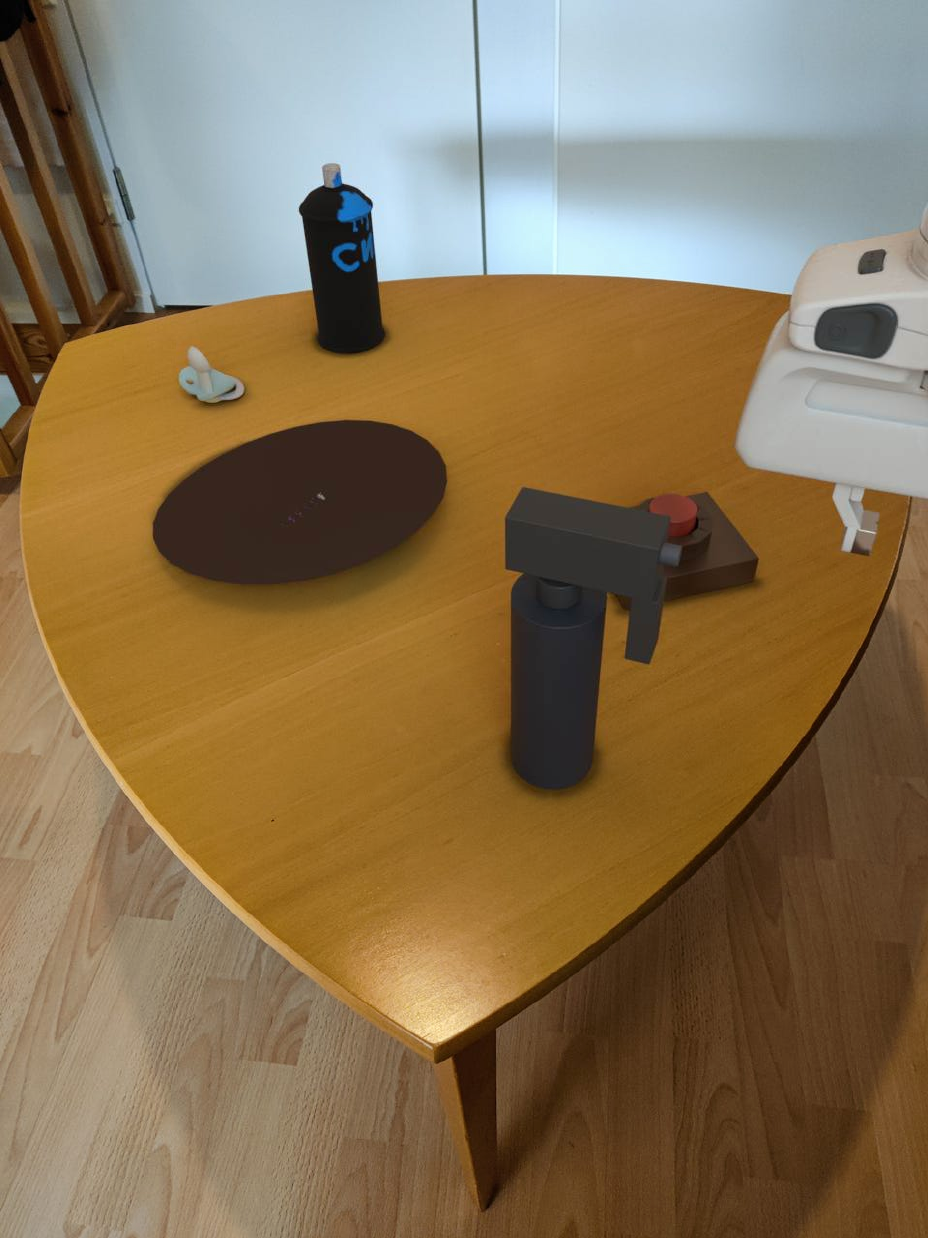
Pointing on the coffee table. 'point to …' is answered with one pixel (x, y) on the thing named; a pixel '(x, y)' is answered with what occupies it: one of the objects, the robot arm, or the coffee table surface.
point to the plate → (302, 503)
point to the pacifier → (208, 380)
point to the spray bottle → (569, 619)
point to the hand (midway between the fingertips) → (918, 559)
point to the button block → (706, 554)
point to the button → (676, 513)
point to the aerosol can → (342, 264)
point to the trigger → (645, 626)
